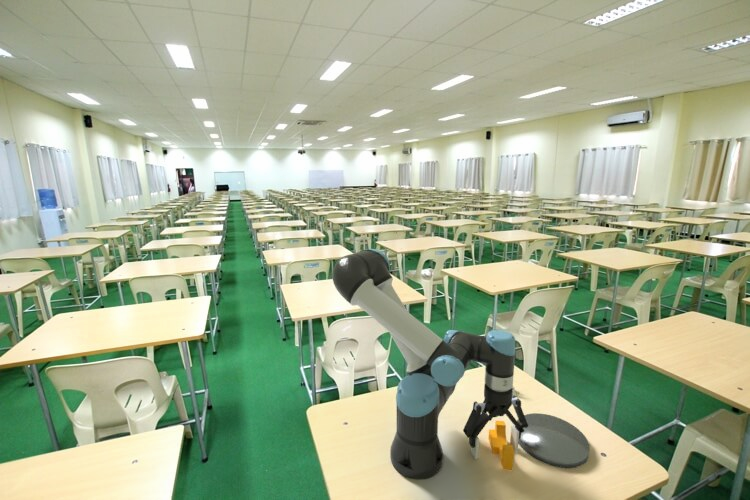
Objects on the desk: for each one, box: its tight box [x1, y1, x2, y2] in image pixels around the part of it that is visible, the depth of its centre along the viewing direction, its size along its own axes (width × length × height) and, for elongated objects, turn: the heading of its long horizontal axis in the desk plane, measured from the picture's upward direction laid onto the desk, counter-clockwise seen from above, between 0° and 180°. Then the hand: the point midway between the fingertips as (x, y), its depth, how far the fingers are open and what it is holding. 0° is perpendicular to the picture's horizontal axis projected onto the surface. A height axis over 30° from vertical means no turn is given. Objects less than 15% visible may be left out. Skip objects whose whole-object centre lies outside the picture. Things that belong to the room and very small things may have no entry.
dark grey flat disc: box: [516, 412, 590, 469], centre depth 104 cm, size 20×20×2 cm
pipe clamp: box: [488, 420, 515, 471], centre depth 100 cm, size 12×4×6 cm, turn 172°
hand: (494, 451), depth 100 cm, fingers open, 12 cm apart
